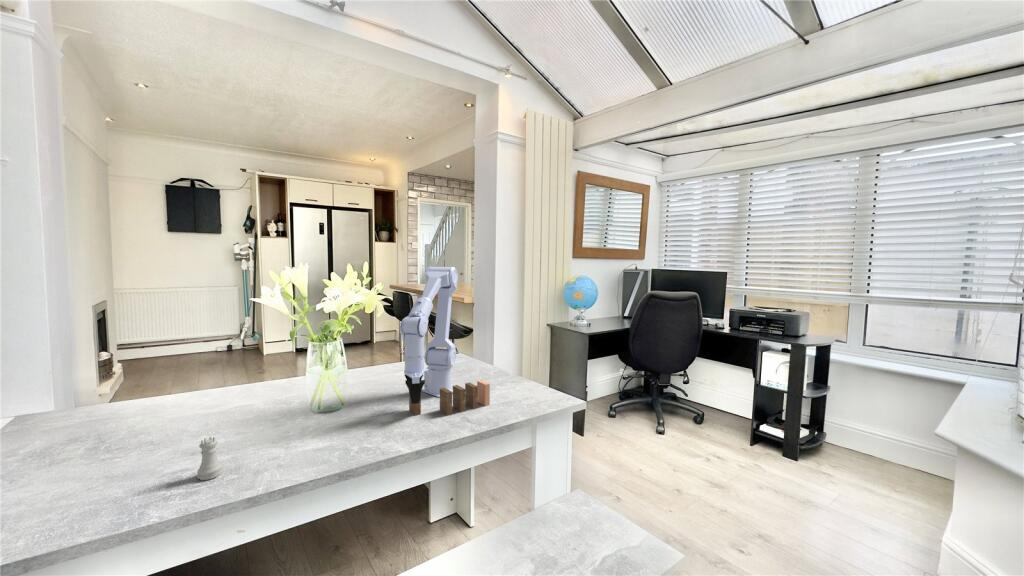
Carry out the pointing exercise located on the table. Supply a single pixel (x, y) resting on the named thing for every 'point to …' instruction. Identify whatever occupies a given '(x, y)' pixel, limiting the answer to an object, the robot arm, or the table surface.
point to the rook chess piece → (209, 460)
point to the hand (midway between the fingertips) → (414, 399)
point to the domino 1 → (415, 407)
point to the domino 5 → (483, 393)
